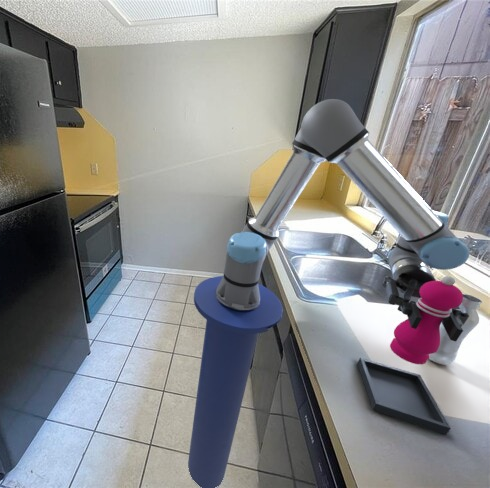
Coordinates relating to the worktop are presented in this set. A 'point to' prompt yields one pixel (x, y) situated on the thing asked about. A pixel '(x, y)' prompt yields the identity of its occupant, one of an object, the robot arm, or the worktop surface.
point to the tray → (401, 395)
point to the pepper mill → (426, 321)
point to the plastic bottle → (449, 347)
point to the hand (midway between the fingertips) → (436, 328)
